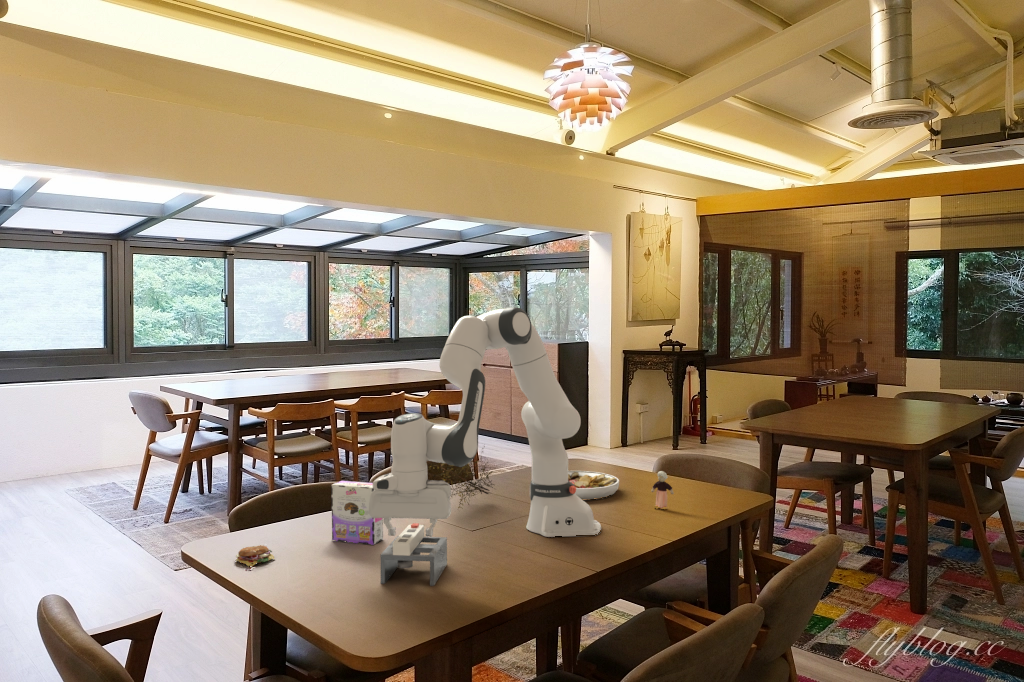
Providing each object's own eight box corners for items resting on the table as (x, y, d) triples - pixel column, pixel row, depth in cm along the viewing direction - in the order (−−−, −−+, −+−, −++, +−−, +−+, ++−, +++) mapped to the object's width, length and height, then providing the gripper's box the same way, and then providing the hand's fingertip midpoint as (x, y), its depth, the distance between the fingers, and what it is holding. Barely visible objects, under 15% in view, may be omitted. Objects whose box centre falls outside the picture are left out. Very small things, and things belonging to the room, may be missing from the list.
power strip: (424, 550, 183) (424, 522, 183) (409, 571, 168) (409, 540, 168) (409, 550, 183) (409, 522, 183) (393, 570, 168) (392, 540, 168)
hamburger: (214, 567, 182) (213, 544, 182) (261, 552, 193) (261, 531, 193) (245, 578, 174) (245, 554, 174) (293, 562, 185) (293, 539, 185)
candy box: (384, 539, 203) (383, 482, 203) (373, 546, 198) (373, 487, 197) (342, 535, 208) (341, 479, 207) (330, 541, 202) (330, 483, 202)
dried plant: (475, 445, 258) (390, 404, 225) (542, 463, 238) (459, 422, 205) (445, 526, 251) (353, 497, 218) (512, 552, 231) (421, 524, 198)
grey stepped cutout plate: (446, 564, 182) (446, 537, 182) (434, 585, 167) (434, 556, 167) (397, 562, 184) (397, 535, 184) (380, 583, 169) (380, 554, 169)
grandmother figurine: (649, 509, 236) (649, 471, 236) (651, 506, 239) (651, 469, 239) (672, 511, 233) (673, 473, 233) (674, 508, 237) (675, 470, 236)
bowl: (564, 479, 281) (564, 460, 281) (633, 490, 264) (633, 469, 263) (521, 494, 257) (521, 473, 257) (593, 507, 240) (593, 484, 239)
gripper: (453, 477, 177) (454, 532, 178) (373, 476, 179) (374, 530, 180) (448, 483, 171) (449, 540, 171) (366, 482, 173) (367, 538, 174)
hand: (410, 535), depth 176 cm, fingers open, 8 cm apart
